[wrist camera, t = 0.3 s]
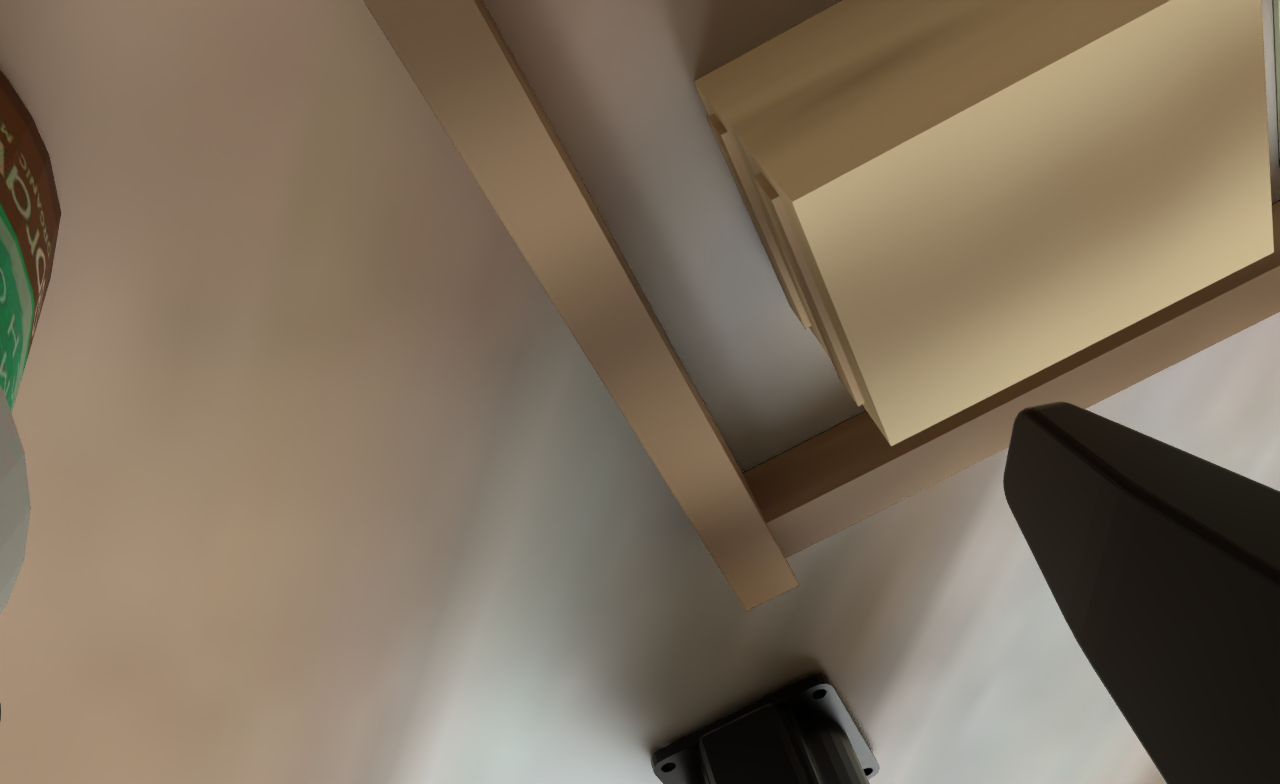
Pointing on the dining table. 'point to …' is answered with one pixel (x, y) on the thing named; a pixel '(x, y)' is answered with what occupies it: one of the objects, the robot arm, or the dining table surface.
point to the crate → (995, 180)
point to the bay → (652, 371)
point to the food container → (20, 303)
